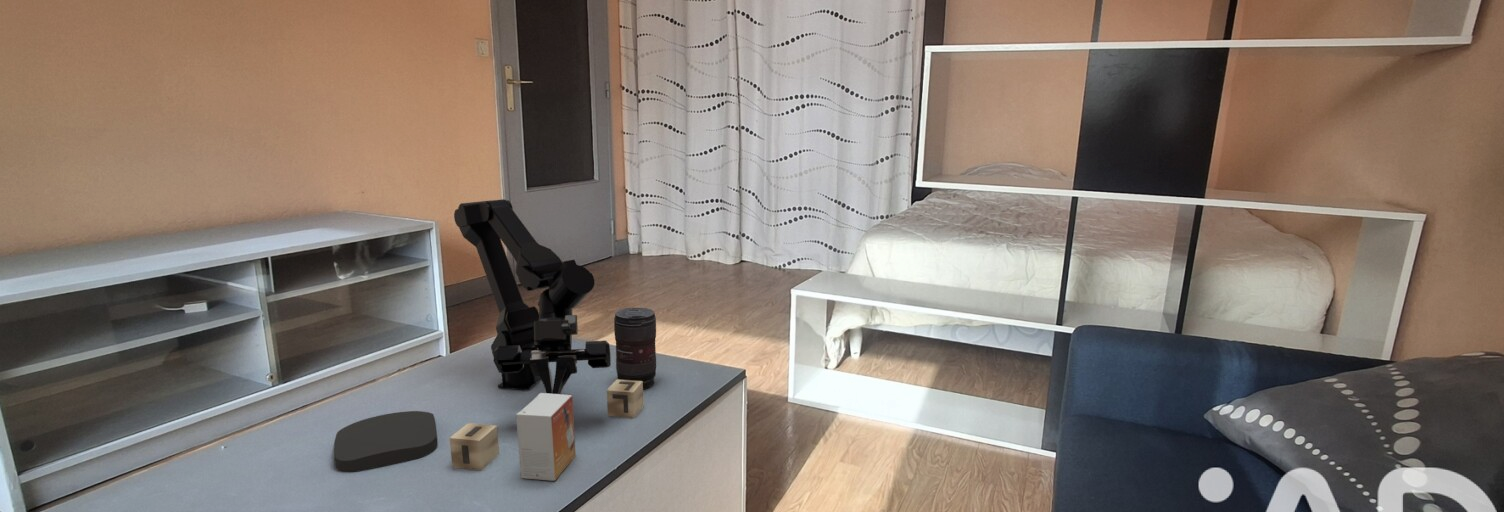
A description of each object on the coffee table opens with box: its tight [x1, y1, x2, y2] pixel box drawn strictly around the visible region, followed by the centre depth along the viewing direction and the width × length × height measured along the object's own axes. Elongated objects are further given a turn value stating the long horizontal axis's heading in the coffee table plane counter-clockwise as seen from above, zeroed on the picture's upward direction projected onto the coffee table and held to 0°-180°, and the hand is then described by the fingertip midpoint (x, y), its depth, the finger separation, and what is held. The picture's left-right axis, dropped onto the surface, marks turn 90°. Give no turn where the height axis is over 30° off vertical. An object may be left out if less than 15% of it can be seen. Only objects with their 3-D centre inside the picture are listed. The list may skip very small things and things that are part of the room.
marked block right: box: [606, 378, 645, 419], centre depth 124 cm, size 5×5×5 cm
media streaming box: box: [333, 410, 439, 473], centre depth 111 cm, size 15×15×3 cm
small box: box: [515, 392, 577, 482], centre depth 104 cm, size 8×6×10 cm
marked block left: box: [448, 422, 500, 471], centre depth 106 cm, size 5×5×5 cm
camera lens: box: [613, 307, 657, 390], centre depth 135 cm, size 8×8×15 cm
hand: (552, 404), depth 112 cm, fingers closed
